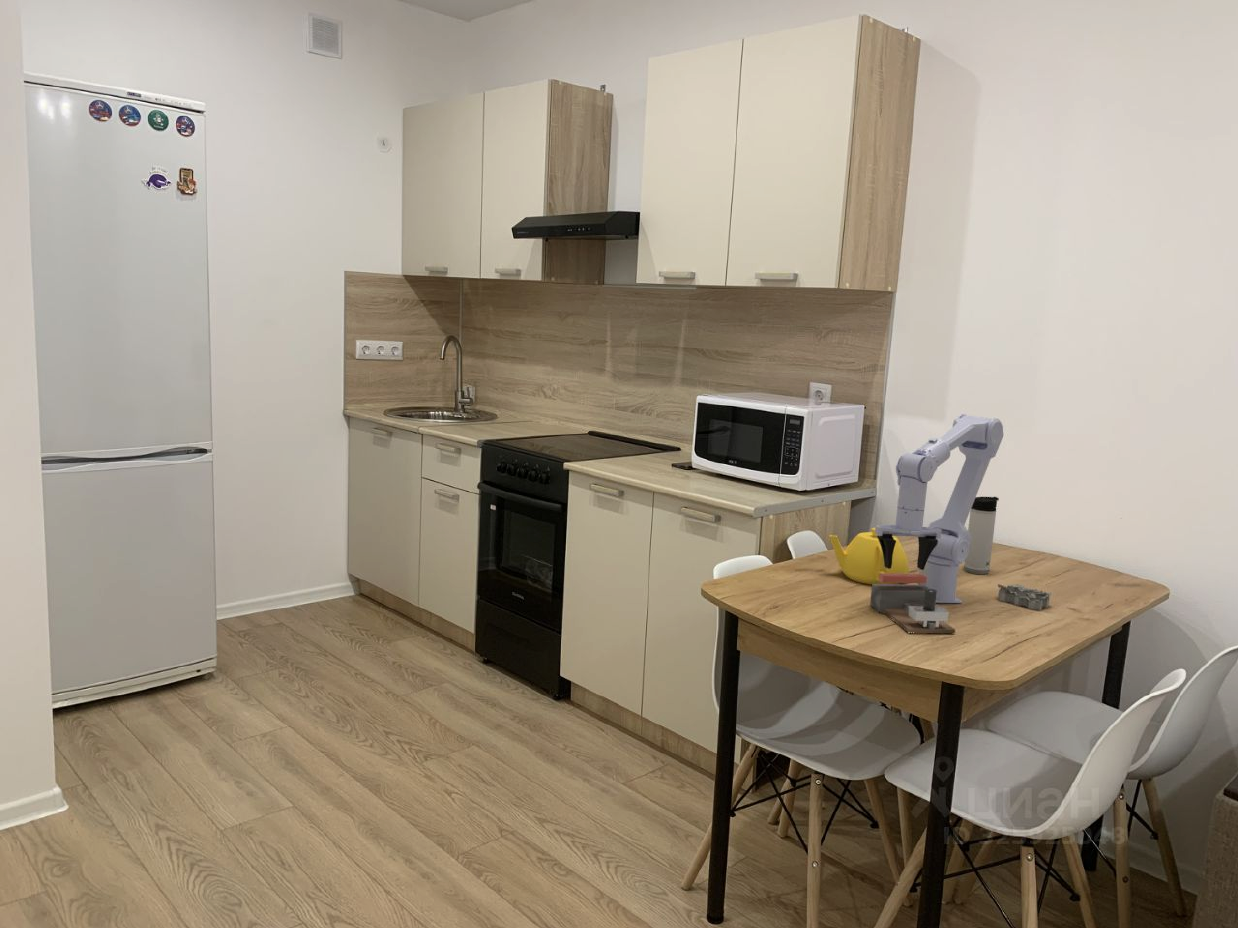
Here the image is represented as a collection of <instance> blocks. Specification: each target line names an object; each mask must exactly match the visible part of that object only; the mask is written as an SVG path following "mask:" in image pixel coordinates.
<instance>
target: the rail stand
mask: <svg viewBox="0 0 1238 928" xmlns="http://www.w3.org/2000/svg"><path fill="white" fill-rule="evenodd" d="M925 589H929V588H927V587H926V586H924V585H918V584H908V583H900V584H872V585H871V593H870V603H869V606H870V605H871V606H870V607H872V608H873V607H874V608H875V609H876V610H877V611H876V610H875V609H874V608H873V609H874V610H875V611H876V612H878V613H879V612H880V613H881V614H884V613H885V614H886V615H885V614H884V615H885V616H886V617H888V618H889V619H890V618H891V619H893V620H894V621H895V622H897V623H898V624H899V625H900V626H901V627H903V628H904V629H905V630H906V631H907V632H910V633H911V632H912V633H913V632H914V633H955V634H956V629H955V628H953V627H952V625H949V623H947V622H946V621H939V627H935V623H934V622H932V621H927V627H923V626H922V625H920V624H919V623H918V622H917V621H915V620H914V619H913V618H911V617H910V616H909V606H923V603H924V593H925ZM882 612H884V613H882ZM880 613H879V614H880ZM891 619H890V620H891ZM893 620H892V621H893ZM894 621H893V622H894ZM895 622H894V623H895ZM899 625H898V626H899ZM900 626H899V627H900ZM901 627H900V628H901ZM905 630H904V631H905ZM906 631H905V632H906ZM907 632H906V633H907Z"/></svg>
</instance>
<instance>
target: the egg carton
mask: <svg viewBox="0 0 1238 928" xmlns="http://www.w3.org/2000/svg"><path fill="white" fill-rule="evenodd" d="M997 587H998V588H999V590H998V596H997V597H998V598H997V599H998V600H999V601H1000V602H1003V603H1012V604H1013V605H1014V606H1019V607H1020V606H1021V607H1022V606H1023V607H1026V608H1028V609H1029V610H1036V611H1037V610H1038V611H1041V610H1042V608H1049V604H1050V597H1051V595H1052V594H1053V592H1051V591H1050V592H1046V591H1044V592H1043V591H1042V590H1039V589H1037V588H1035V589H1033V588H1030V587H1029V588H1028V587H1025V586H1024V585H1022V584H1010V585H1007V586H1004V585H1002V584H999V583H998V584H997Z"/></svg>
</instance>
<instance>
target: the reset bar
mask: <svg viewBox="0 0 1238 928" xmlns="http://www.w3.org/2000/svg"><path fill="white" fill-rule="evenodd" d="M926 578H927V577H926V576H924V575H923V574H919V573H909V574H896V573H879V580H880V581H881V582H882V583H900V584H918V583H924V584H926Z"/></svg>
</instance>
